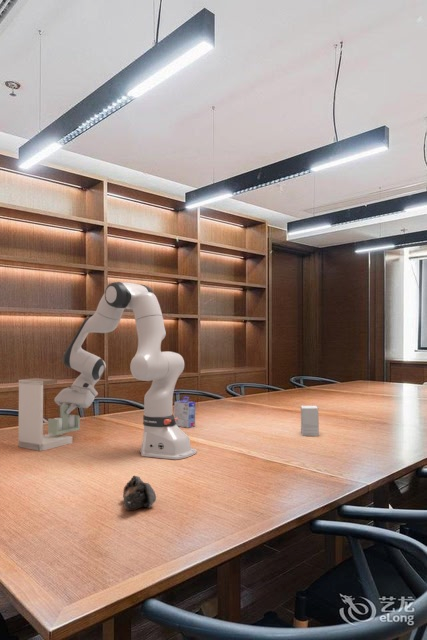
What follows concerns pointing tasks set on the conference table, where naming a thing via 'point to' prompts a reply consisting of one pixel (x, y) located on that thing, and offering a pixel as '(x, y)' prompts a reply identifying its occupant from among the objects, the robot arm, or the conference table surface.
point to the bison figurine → (138, 494)
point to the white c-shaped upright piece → (35, 417)
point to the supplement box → (309, 421)
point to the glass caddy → (63, 423)
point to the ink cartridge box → (184, 413)
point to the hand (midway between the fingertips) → (63, 413)
